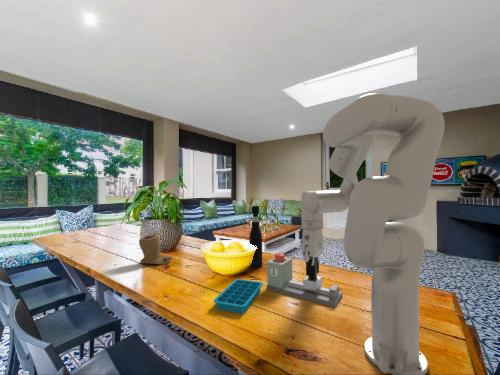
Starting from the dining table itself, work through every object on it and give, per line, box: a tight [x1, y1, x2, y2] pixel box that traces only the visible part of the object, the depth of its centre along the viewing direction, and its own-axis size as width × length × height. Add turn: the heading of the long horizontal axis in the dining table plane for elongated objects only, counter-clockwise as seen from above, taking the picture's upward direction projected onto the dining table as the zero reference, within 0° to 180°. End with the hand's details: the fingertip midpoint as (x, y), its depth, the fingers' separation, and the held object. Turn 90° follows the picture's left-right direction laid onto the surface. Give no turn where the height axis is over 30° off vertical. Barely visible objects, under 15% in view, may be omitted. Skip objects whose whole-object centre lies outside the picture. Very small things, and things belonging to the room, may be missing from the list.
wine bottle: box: [248, 205, 263, 269], centre depth 121 cm, size 6×6×30 cm
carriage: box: [302, 258, 323, 293], centre depth 89 cm, size 6×5×11 cm
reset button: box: [274, 253, 286, 263], centre depth 97 cm, size 4×4×6 cm
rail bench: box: [266, 256, 343, 308], centre depth 91 cm, size 10×26×10 cm, turn 56°
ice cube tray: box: [213, 278, 264, 314], centre depth 87 cm, size 12×20×3 cm, turn 160°
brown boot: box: [138, 233, 173, 265], centre depth 128 cm, size 15×12×15 cm
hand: (312, 273), depth 89 cm, fingers closed on carriage, 3 cm apart
